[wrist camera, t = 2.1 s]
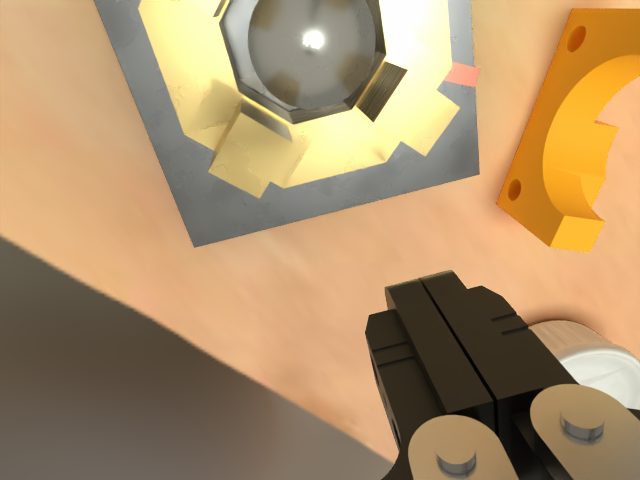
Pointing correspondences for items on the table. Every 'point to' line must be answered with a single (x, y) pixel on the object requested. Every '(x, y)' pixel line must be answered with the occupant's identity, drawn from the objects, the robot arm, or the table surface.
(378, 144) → the ring nut
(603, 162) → the pipe clamp
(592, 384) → the ramekin
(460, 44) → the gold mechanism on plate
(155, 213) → the table surface
